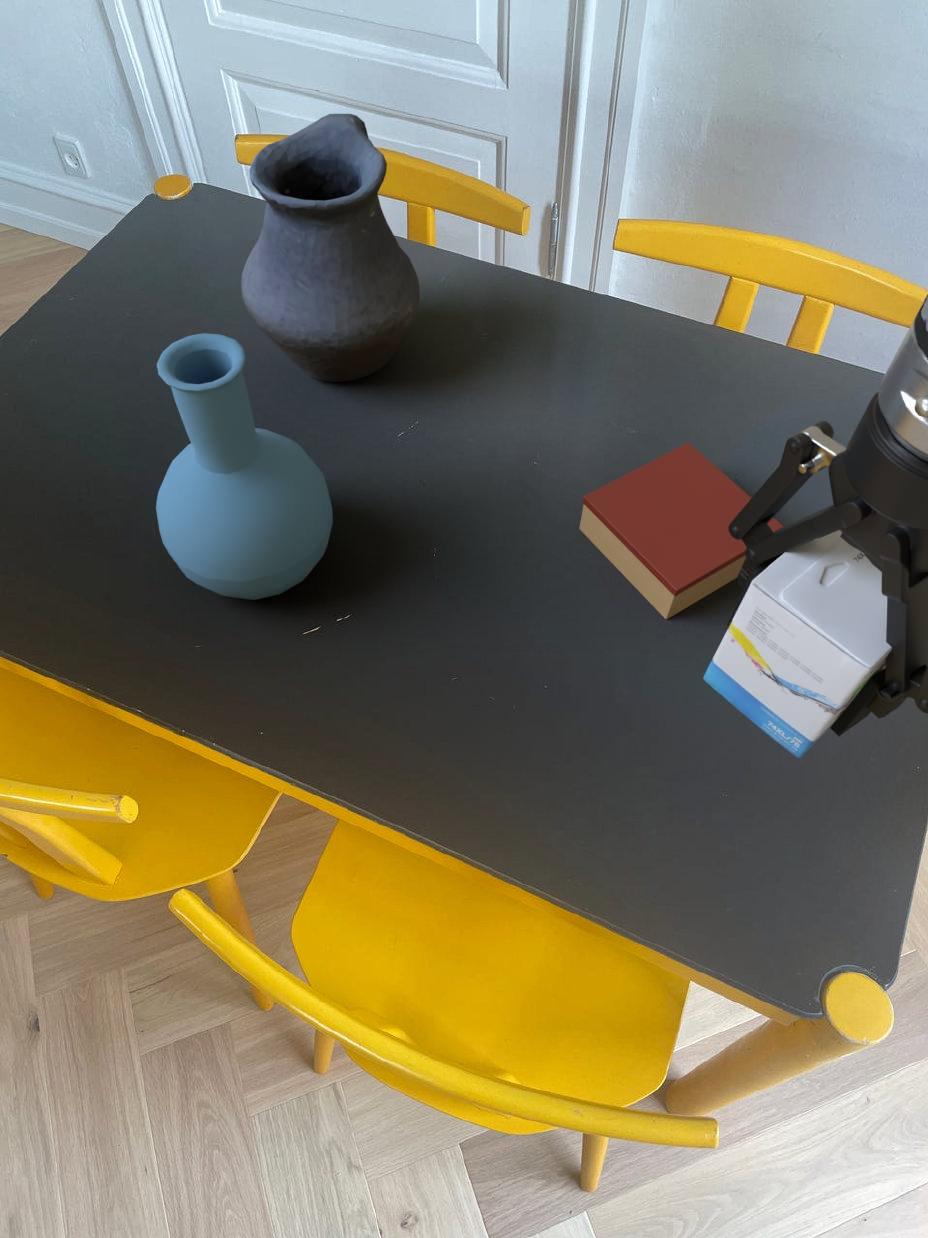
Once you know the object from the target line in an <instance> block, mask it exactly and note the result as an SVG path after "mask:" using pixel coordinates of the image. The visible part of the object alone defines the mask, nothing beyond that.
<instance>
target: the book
mask: <svg viewBox="0 0 928 1238" xmlns="http://www.w3.org/2000/svg"><path fill="white" fill-rule="evenodd" d="M751 498H752V497H751V496H750V495H749V494H748V493H747V492H745V490H743V489H742V488H741V487H740V486H738V485H737V484H736V483H735V482H734V481H733V480H732V479H731V478H730V477H728V475H726V474H725V473H724V472H723V471H721V470H720V468H718V466H716V465H715V464H714V463H713V462H712V461H710V460H709V459H708V458H707V457H706V456H705V455H704V454H702V452H700V451H699V450H698V449H697V448H696V447H695V446H693V445H692V444H691V443H690V442H687V443H685V444H683V445H680V446H679V447H676V448H675V449H673V450H671V451H669V452H667V453H665V454H663V455H662V456H659V457H657V458H655V459H653V460H652V461H649V462H648V463H646V464H644V465H641V466H639V467H638V468H636V469H634V470H632V471H630V472H628V473H626V474H624V475H622V476H620V477H618V478H616V479H614V480H613V481H611V482H608V483H606V484H604V485H603V486H601V487H599V488H597V489H595V490H593V491H591V492H589V493H587V494H585V495H583V498H582V504H583V507H582V512H581V518H580V524H579V530H580V532H581V533H582V534H584V536H585V537H586V538H587V539H588V540H589V542H591V543H592V544H593V545H594V547H596V548H597V549H598V550H599V551H600V553H602V555H604V556H605V558H606V559H607V560H608V561H609V562H610V563H611V564H612V565H613V566H614V567H615V568H616V570H618V571H619V572H620V573H621V574H622V575H623V576H624V577H625V579H627V581H628V582H629V583H630V584H631V585H632V586H633V587H634V588H635V589H636V590H637V591H638V592H639V593H640V594H641V596H642V597H644V598H645V600H646V601H647V602H648V603H649V604H650V605H651V606H652V607H653V608H654V609H655V610H656V611H657V612H658V613H659V614H660V615H661V616H662V618H663V619H665V620H669V619H670V618H671V617H673V616H675V615H677V614H678V613H680V612H681V611H683V610H685V609H687V608H688V607H690V606H692V605H693V604H695V603H697V602H699V601H700V600H702V599H704V598H705V597H707V596H708V595H710V594H712V593H713V592H715V591H717V590H718V589H720V588H722V587H724V586H725V585H727V584H729V583H730V582H732V581H734V580H736V579H737V576H738V574H739V572H740V570H741V568H742V565H743V563H744V561H745V559H746V554H745V551H746V549H747V548H746V545H745V544H744V542H743V541H742V539H740V540H736V539H735V538H733V537H732V536H731V534H730V533H729V524H730V523H731V522H732V521H733V520H734V518H735V517H736V516H737V515H738V514H739V512H740V511H741V510H742V509H743V508H744V507H745V505H746V504H747V503H748V502H749V501H750V500H751ZM767 524H768V525H769V527H770V528H771V530H772V531H773V532H775V531H777V530H778V529H780V528H782V527H783V528H784V527H785V526H784V525H783V524H782V523H780V522H779V521H778V520H777V519H776V518H774V517H773V518H772V519H771V520H770V521H769V522H768V523H767Z"/></svg>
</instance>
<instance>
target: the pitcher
mask: <svg viewBox="0 0 928 1238" xmlns="http://www.w3.org/2000/svg"><path fill="white" fill-rule="evenodd" d="M368 134H369V133H368V130H367V127H366V123H365V121H364V120H363V119H361V118H360V117H359V116H358V115H356V114H352V113H329V114H326V115H324V116H322V117H320V118H319V119H317V120H316V121H314V122H312V123H310V124H308V125H307V126H305V127H304V128H302V129H300V130H298V131H296V132H295V133H292V134H290V135H288V136H286V137H284V138H282V139H279V140H277V141H274V142H272V143H269V144H267V145H265V146H264V147H263V148H261V149H260V150H259V151H258V152H257V153H256V155H255V157H254V158H253V160H252V162H251V164H250V167H249V170H248V172H249V179H250V182H251V184H252V186H253V187H254V189H256V191H257V192H258V194H259V196H261V197H262V198H263V200H265V201H266V206H265V209H264V215H263V222H262V229H261V231H260V235H259V238H258V240H257V242H256V243H255V245H254V246H253V248H252V250H251V252H250V253H249V255H248V258H247V259H246V260H245V261H246V262H245V265H244V267H243V270H242V272H241V273H242V274H241V282H240V287H241V297H242V300H243V303H244V307H245V308H246V311H247V313H248V315H249V316H250V318H251V320H252V321H253V323H254V324H255V326H257V328H258V329H259V330H260V331H261V332H262V333H263V334H265V335H266V336H267V337H268V338H269V339H270V340H271V341H272V342H273V343H274V344H275V346H276V347H278V349H280V350H281V352H282V353H283V354H284V355H286V357H288V358H289V360H290V361H292V362H293V363H294V364H296V365H297V366H298V368H300V369H301V370H302V371H303V372H304V373H306V374H307V375H308V376H309V377H311V378H313V379H314V380H315V379H316V380H318V381H322V382H329V383H337V382H338V383H339V382H352V381H356V380H359V379H361V378H364V377H367V376H369V375H371V374H374V373H375V372H377V371H379V370H381V369H382V368H383V367H384V366H385V365H387V363H388V362H389V361H390V360H391V359H392V357H393V355H394V354H395V352H396V350H397V348H398V347H399V345H400V344H401V342H402V341H403V339H404V338H405V337H406V335H407V333H408V331H409V330H410V328H411V326H412V324H413V322H414V320H415V318H416V314H417V311H418V310H419V309H418V308H419V304H420V300H421V299H420V283H419V278H418V274H417V272H416V269H415V268H414V265H413V263H412V261H411V259H410V257H409V256H408V254H407V253H406V252H405V251H404V250H403V249H402V248H401V246H400V245H399V243H398V240H397V238H396V237H395V234H394V233H393V231H392V229H391V227H390V225H389V224H388V221H387V219H386V216H385V214H384V211H383V208H382V206H381V203H380V198H379V192H380V189H381V187H382V186H383V183H384V182H385V178H386V174H387V169H388V163H387V161H386V157H385V155H384V154H383V153H382V151H381V150H379V149H377V148H376V146H375V145H374V144H373V142H372V141H371V140H370V137H369V135H368Z"/></svg>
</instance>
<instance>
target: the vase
mask: <svg viewBox="0 0 928 1238" xmlns="http://www.w3.org/2000/svg"><path fill="white" fill-rule="evenodd" d="M245 363H246V354H245V349H244V347H243V346H242V345H241V344H240V343H239V341H238V340H237V339H235V338H232V337H229V336H226V335H223V334H218V333H207V332H204V333H197V334H192V335H187V336H185V337H183V338H181V339H179V340H175V341H174V342H172V343H171V344H170V345H168V346H167V347H166V348H165V349H164V350H163V351H162V352H161V354H160V356H159V358H158V359H157V363H156V368H157V373H158V376H159V377H160V378H161V379H162V380H163V381H164V382H165V384H166V385H167V386H169V387H170V388H171V393H172V396H173V398H174V402H175V404H176V408H177V410H178V412H179V415H180V418H181V421H182V423H183V426H184V429H185V432H186V434H187V437H188V439H189V441H190V443H189V444H187V445H186V446H185V447H184V448H183V450H181V451H180V452H179V454H177V455H176V456H175V458H174V459H172V461H171V463H170V465H169V467H168V469H167V471H166V474H165V476H164V478H163V480H162V483H161V484H160V486H159V490H158V492H157V497H156V505H155V510H156V517H157V523H158V529H159V530H158V531H159V533H160V534H159V535H160V537H161V541H162V544H163V546H164V547H165V550H166V551H167V552H168V554H169V556H170V557H171V558H172V560H173V561H174V562H175V564H176V565H177V567H178V568H179V570H181V572H182V573H183V574H184V576H185V577H186V578H187V579H188V580H190V581H192V582H193V583H195V584H196V585H198V586H201V587H202V588H205V589H207V590H208V591H211V592H213V593H215V594H218V595H220V596H223V597H227V598H234V599H243V600H252V601H256V600H260V599H265V598H269V597H274V596H278V595H280V594H282V593H284V592H286V591H288V590H290V589H291V588H293V587H295V586H296V585H298V584H300V583H302V582H303V581H304V580H305V579H306V578H307V577H308V575H309V574H310V573H311V572H312V571H313V569H314V568H315V567H316V566H317V564H318V563H319V562H320V560H321V559H322V558H323V556H324V554H325V552H326V550H327V547H328V543H329V540H330V537H331V536H330V535H331V531H332V528H333V524H334V519H333V516H334V515H333V514H334V513H333V506H332V502H331V498H330V494H329V489H328V485H327V482H326V479H325V475H324V472H322V470H321V469H320V468H319V466H317V464H316V463H315V462H314V460H313V459H312V458H311V457H310V456H309V455H308V454H307V452H306V451H305V450H304V449H303V448H302V446H301V445H300V444H299V443H297V442H296V441H294V440H292V439H291V438H289V437H286V436H284V435H281V434H278V433H276V432H273V431H271V430H268V429H265V428H259V427H256V426H255V420H254V415H253V410H252V406H251V401H250V397H249V393H248V387H247V385H246V379H245V376H244V374H243V368H244V365H245Z"/></svg>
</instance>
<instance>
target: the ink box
mask: <svg viewBox="0 0 928 1238" xmlns="http://www.w3.org/2000/svg"><path fill="white" fill-rule="evenodd" d="M841 534H842V532H841V531H840V530H838V531H836V532H833V533H831V534H829V535H826V536H824V537H822V538H819V539H818V538H817V539H814V540H812V541H810V542H807V543H805V544H803V545H800V546H798V547H796V548H793V549H791V550H789V551H786V552H785V553H784V554H783V555H781V556H780V557H779V558H778V559H777V560H775V561H774V562H773V563H772V564H771V565H770V566H768V567H767V568H766V569H765V570H764V571H763V572H762V573H761V574H759V575H758V576H757V577H756V578H755V579H754V580H753V581H752V582H751V584H750V586H749V588H748V590H747V592H746V594H745V596H744V598H743V600H742V602H741V604H740V606H739V608H738V610H737V612H736V614H735V616H734V618H733V620H732V622H731V624H730V626H728V628H727V630H726V632H725V634H724V635H723V638H722V639H721V642H720V644H719V645H718V647H717V650H716V651H715V653H714V655H713V657H712V659H711V661H710V663H709V665H708V667H707V669H706V671H705V673H704V675H703V680H704V682H705V683H706V684H708V686H710V687H711V688H712V689H713V690H715V691H716V692H717V693H718V694H719V695H721V696H722V697H723V698H724V699H726V700H727V701H728V702H729V703H730V704H731V705H732V706H733V707H734V708H735V709H737V710H738V711H739V712H740V713H742V714H743V715H744V716H745V717H746V718H747V719H749V721H751V722H752V723H753V724H755V726H757V727H758V728H760V730H762V731H763V732H764V733H766V734H767V735H768V736H769V737H770V738H771V739H773V740H774V741H775V742H777V743H778V744H779V745H781V746H782V747H783V748H784V749H786V750H787V751H788V752H789V753H791V754H792V755H793V756H794V757H796V758H798V759H801V758H803V756H805V754H806V753H807V752H808V751H809V750H810V749H811V748H812V747H813V746H814V745H815V744H816V743H817V742H818V741H819V740H820V739H821V738H822V737H823V736H824V735H825V734H826V733H827V732H828V731H829V730H831V726H832V725H833V724H834V723H835V721H836V720H837V719H838V718H839V716H840V715H841V714H842V713H843V711H844V710H845V709H846V708H847V706H848V705H849V704H850V703H851V701H852V700H853V699H854V698H855V697H856V695H857V694H858V693H859V691H860V690H861V689H862V688H863V686H864V685H865V684H866V683H867V681H868V680H869V679H870V678H871V677H872V676H874V675H875V674H877V673H878V672H880V671H881V670H882V669H884V668H885V665H886V657H887V655H888V654H889V653H890V651H891V650H892V648H891V646H890V645H889V644H888V643H887V642H886V629H887V596H884V595H883V594H882V591H881V588H882V572H881V571H880V570H878V569H877V568H876V567H875V566H874V565H873V564H872V563H871V562H870V561H869V559H868V558H867V557H866V556H865V555H864V553H863V552H861V551H859V550H858V549H856V548H854V547H852V546H850V545H849V544H848V543H847V542H846V541H845V540H843V539H842V538H841V537H840V536H841Z"/></svg>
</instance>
